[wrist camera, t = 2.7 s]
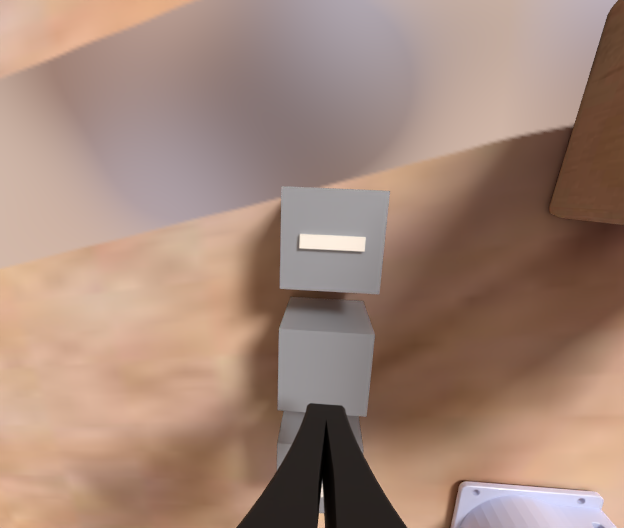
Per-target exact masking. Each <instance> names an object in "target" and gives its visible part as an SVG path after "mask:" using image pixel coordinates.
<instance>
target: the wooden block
mask: <svg viewBox="0 0 624 528" xmlns="http://www.w3.org/2000/svg"><path fill="white" fill-rule="evenodd" d="M549 210H550V213H551V214H553V215H555V216H556V217H559V218H567V219H576V220H584V221H593V222H602V223H610V224H619V225H624V0H618V1H617V2H616V4H614V6H613V7H612V8H611V10H610V12H609V14H608V15H607V19H606V22H605V25H604V29H603V32H602V35H601V39H600V42H599V45H598V48H597V52H596V55H595V58H594V62H593V65H592V68H591V71H590V75H589V78H588V82H587V85H586V88H585V92H584V94H583V98H582V101H581V104H580V108H579V111H578V114H577V117H576V121H575V124H574V127H573V131H572V134H571V137H570V140H569V144H568V147H567V150H566V154H565V157H564V160H563V164H562V167H561V170H560V173H559V177H558V180H557V183H556V187H555V190H554V193H553V196H552V200H551V203H550V206H549Z"/></svg>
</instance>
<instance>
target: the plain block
mask: <svg viewBox="0 0 624 528" xmlns="http://www.w3.org/2000/svg"><path fill="white" fill-rule="evenodd" d="M374 340H375V333H374V330H373V328H372V325H371V322H370V319H369V316H368V313H367V310H366V307H365V305H364V302H363V301H355V300H338V299H321V298H303V297H290V299H289V302H288V305H287V308H286V311H285V313H284V316H283V319H282V322H281V325H280V327H279V356H278V410H281V411H295V412H306V408H307V405H308V404H310V403H315V404H329V405H342V406H343V407H344V408H345V412H346V415H350V416H364V417H367V408H368V398H369V389H370V379H371V369H372V359H373V350H374Z"/></svg>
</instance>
